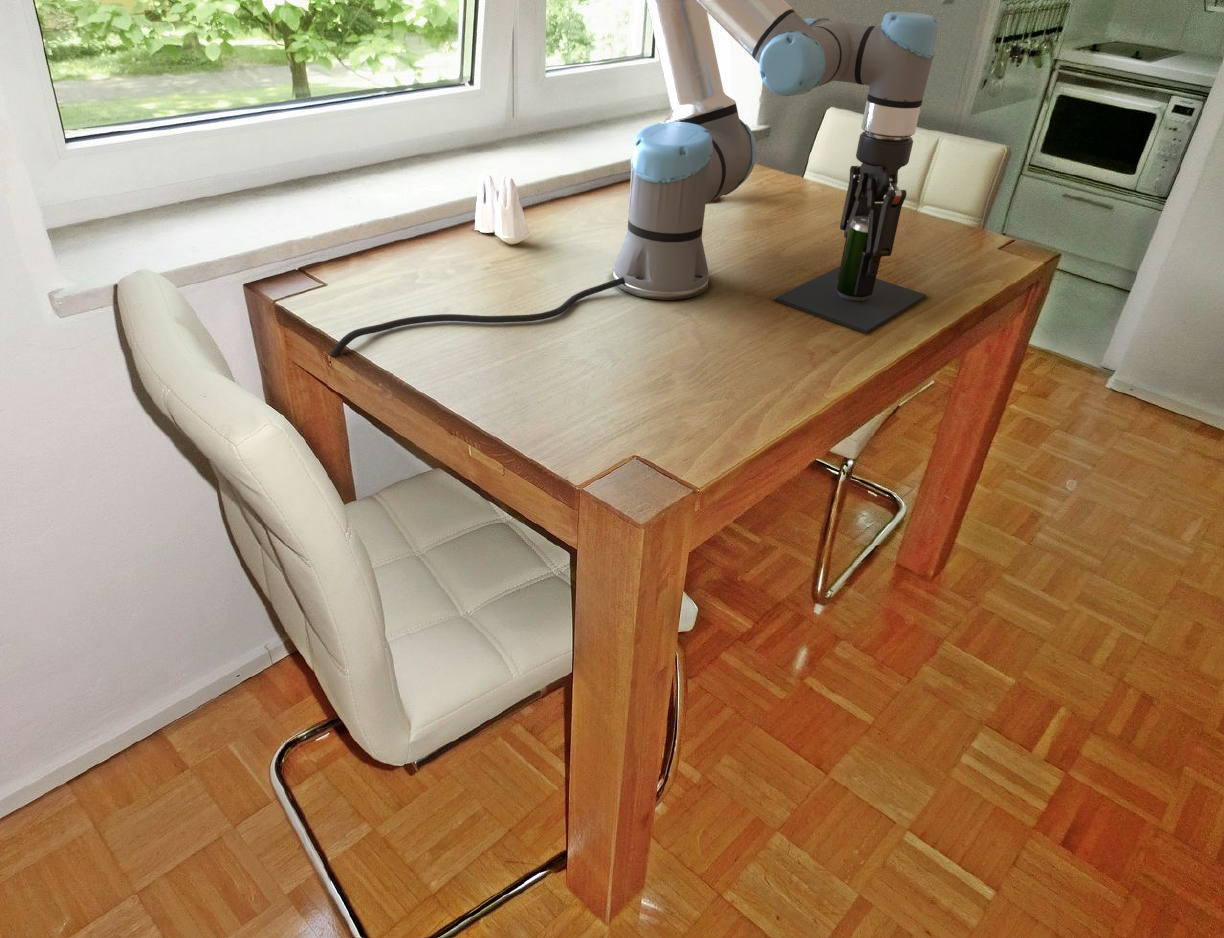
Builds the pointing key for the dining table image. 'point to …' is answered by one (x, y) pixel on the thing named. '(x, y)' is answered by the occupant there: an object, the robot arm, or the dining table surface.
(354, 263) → the dining table surface
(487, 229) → the shaker set
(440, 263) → the dining table surface
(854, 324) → the place mat
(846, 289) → the beer can
